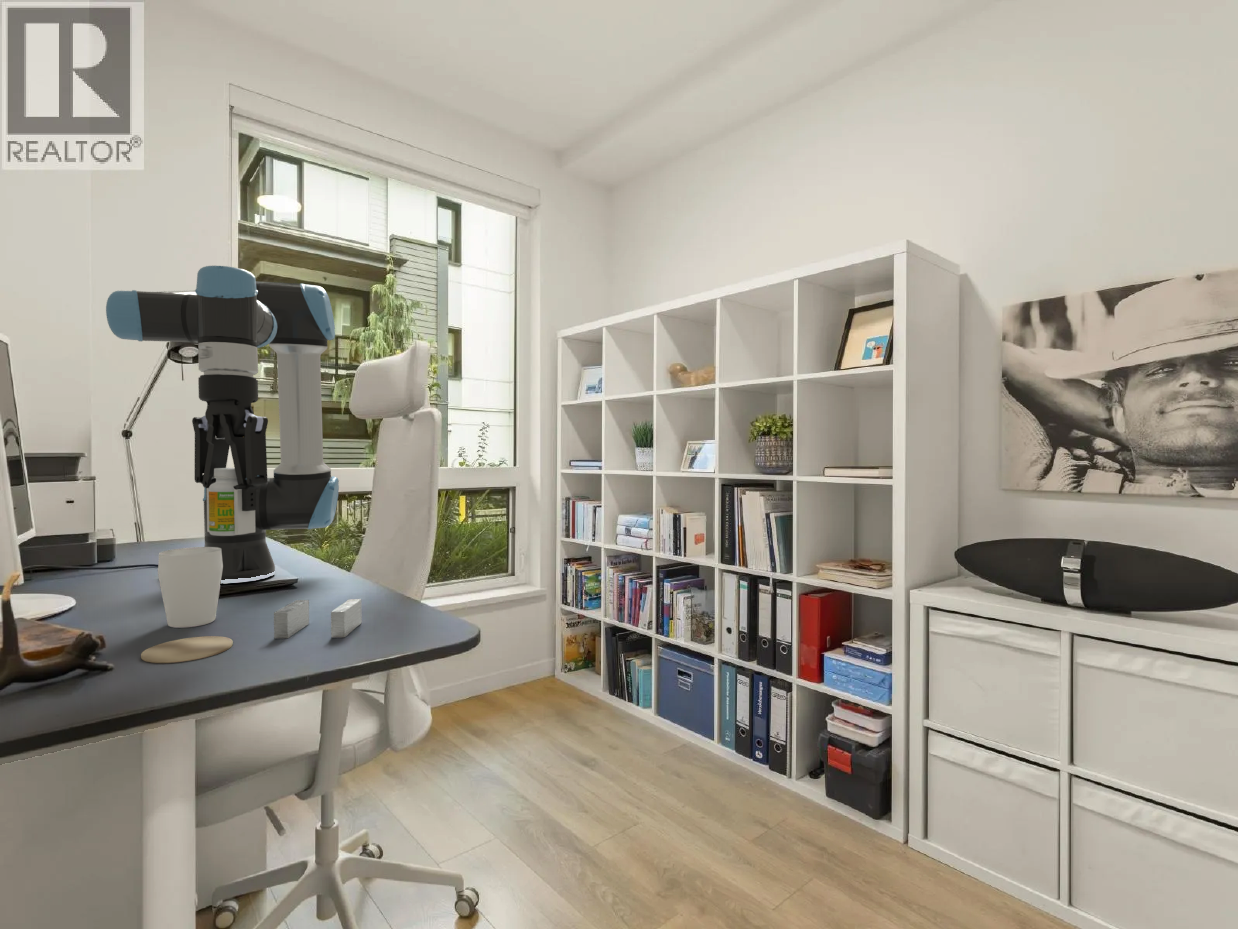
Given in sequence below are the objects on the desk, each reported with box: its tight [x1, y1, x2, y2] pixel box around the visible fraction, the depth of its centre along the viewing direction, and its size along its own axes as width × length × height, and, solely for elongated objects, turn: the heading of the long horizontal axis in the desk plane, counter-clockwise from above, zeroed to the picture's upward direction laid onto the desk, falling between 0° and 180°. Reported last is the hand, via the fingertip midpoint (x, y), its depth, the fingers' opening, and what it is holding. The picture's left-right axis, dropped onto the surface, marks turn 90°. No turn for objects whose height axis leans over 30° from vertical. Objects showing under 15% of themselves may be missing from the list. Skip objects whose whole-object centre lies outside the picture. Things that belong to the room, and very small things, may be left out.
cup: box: [157, 546, 223, 629], centre depth 107 cm, size 9×9×12 cm
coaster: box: [140, 635, 234, 664], centre depth 93 cm, size 11×11×1 cm
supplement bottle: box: [209, 467, 242, 536], centre depth 96 cm, size 5×5×10 cm
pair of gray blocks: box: [273, 598, 363, 640], centre depth 103 cm, size 8×10×4 cm
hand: (231, 531), depth 96 cm, fingers closed on supplement bottle, 5 cm apart
